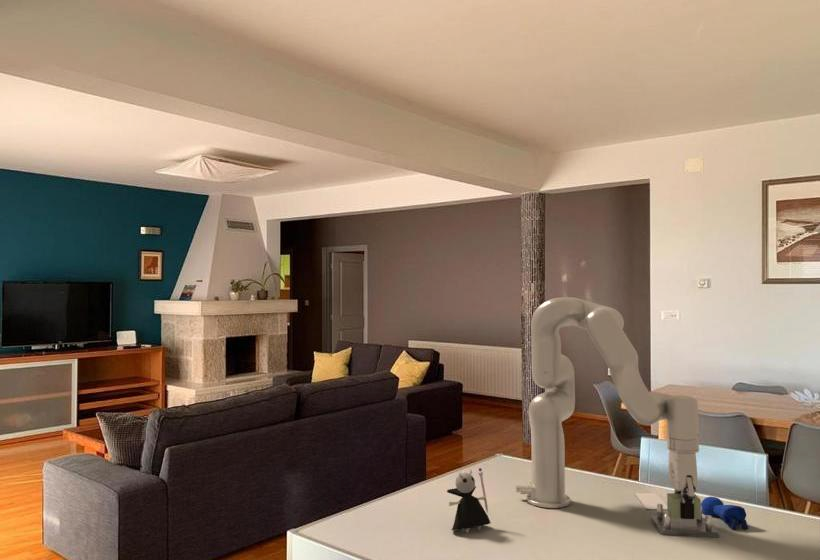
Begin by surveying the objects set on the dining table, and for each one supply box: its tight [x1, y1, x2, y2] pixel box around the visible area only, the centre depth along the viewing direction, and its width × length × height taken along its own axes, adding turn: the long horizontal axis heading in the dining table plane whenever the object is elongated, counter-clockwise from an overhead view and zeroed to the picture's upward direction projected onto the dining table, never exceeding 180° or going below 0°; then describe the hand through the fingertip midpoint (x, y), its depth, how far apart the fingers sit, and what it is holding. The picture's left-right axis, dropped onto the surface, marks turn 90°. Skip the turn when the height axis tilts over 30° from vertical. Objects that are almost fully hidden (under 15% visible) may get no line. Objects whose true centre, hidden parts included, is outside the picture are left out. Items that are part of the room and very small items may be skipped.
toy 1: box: [446, 467, 492, 533], centre depth 164 cm, size 12×7×15 cm, turn 117°
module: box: [666, 492, 702, 519], centre depth 163 cm, size 7×4×5 cm, turn 82°
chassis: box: [650, 504, 720, 538], centre depth 163 cm, size 14×10×5 cm
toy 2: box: [701, 496, 749, 531], centre depth 169 cm, size 7×6×15 cm
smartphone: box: [633, 492, 668, 512], centre depth 184 cm, size 7×1×15 cm
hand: (684, 514), depth 163 cm, fingers closed on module, 4 cm apart
